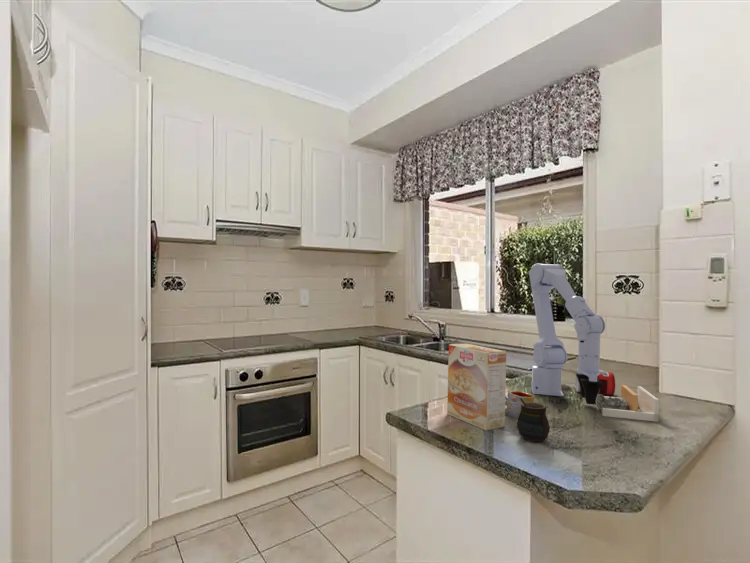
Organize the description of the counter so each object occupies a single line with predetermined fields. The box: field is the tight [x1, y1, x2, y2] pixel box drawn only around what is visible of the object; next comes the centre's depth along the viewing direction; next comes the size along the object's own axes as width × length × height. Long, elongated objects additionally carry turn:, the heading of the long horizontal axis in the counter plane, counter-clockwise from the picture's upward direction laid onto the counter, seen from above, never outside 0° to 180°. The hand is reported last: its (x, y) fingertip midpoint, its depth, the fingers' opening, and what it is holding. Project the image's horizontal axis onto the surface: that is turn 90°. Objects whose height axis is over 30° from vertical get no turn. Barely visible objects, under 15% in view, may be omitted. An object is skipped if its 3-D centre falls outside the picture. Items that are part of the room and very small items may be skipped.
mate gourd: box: [516, 398, 551, 443], centre depth 99 cm, size 7×8×10 cm
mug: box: [505, 390, 535, 421], centre depth 116 cm, size 12×7×7 cm, turn 52°
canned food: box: [575, 370, 616, 396], centre depth 143 cm, size 8×8×11 cm
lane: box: [595, 385, 660, 423], centre depth 123 cm, size 14×16×6 cm
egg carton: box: [595, 394, 629, 413], centre depth 124 cm, size 11×8×4 cm
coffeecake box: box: [446, 342, 507, 431], centre depth 111 cm, size 15×7×20 cm, turn 31°
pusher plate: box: [620, 384, 639, 411], centre depth 122 cm, size 1×13×6 cm, turn 162°
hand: (588, 400), depth 126 cm, fingers open, 7 cm apart
